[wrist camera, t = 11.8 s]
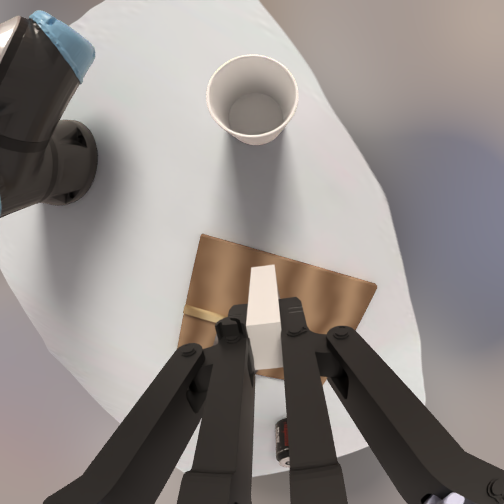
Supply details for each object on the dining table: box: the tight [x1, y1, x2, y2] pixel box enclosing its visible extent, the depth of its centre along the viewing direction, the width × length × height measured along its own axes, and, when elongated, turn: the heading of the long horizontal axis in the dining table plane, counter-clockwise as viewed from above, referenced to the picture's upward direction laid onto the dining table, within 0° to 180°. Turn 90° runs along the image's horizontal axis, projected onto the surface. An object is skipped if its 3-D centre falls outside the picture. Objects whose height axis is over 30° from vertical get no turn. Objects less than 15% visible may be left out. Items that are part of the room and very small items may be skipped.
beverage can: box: [276, 418, 290, 467], centre depth 52 cm, size 7×7×12 cm
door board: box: [177, 234, 377, 385], centre depth 45 cm, size 30×24×5 cm
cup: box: [206, 55, 298, 145], centre depth 29 cm, size 8×8×16 cm
